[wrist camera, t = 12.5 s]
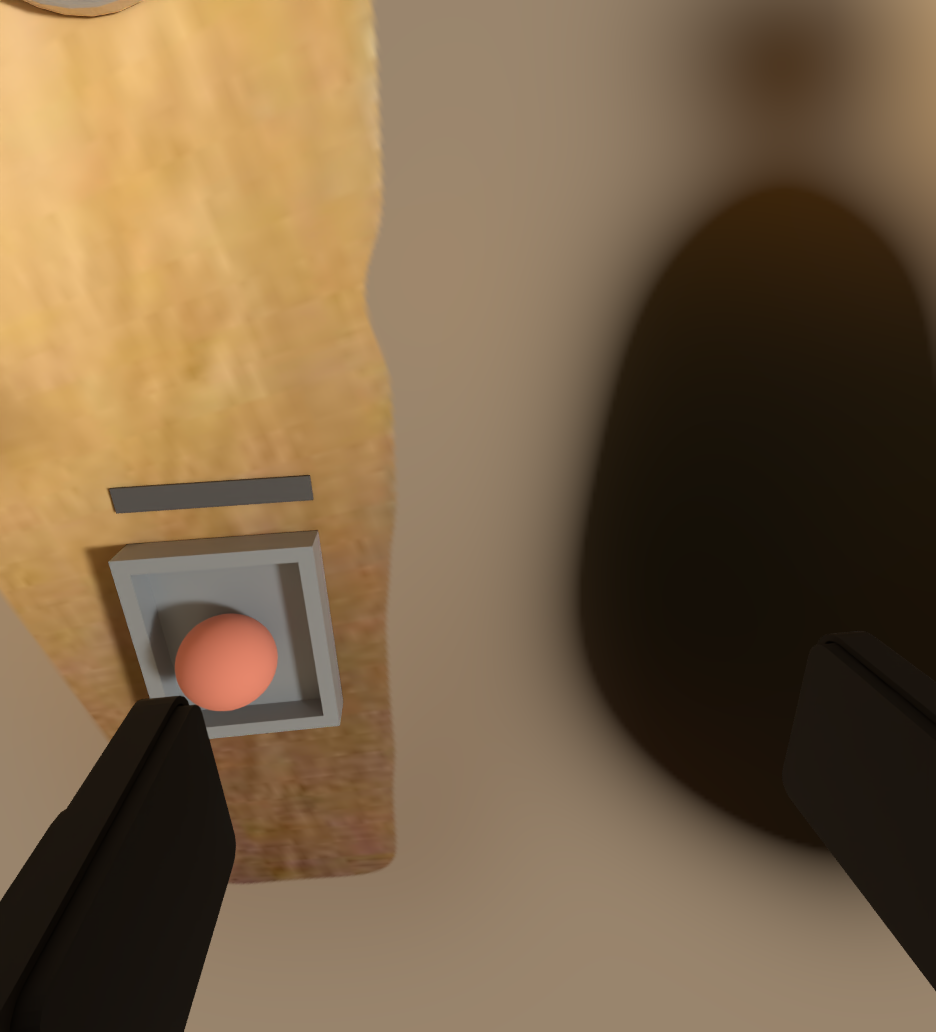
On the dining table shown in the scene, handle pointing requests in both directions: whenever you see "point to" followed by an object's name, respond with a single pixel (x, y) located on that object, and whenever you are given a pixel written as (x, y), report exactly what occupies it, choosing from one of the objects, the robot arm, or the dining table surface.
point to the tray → (239, 590)
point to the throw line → (211, 494)
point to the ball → (226, 662)
